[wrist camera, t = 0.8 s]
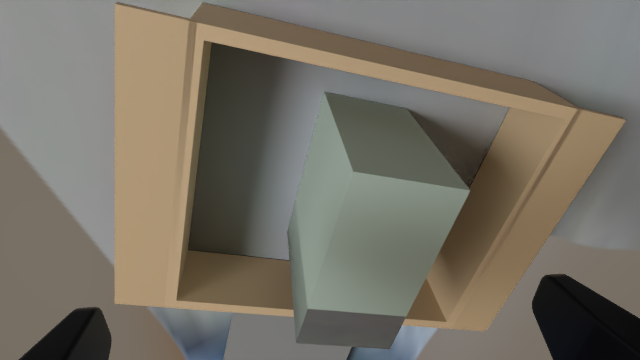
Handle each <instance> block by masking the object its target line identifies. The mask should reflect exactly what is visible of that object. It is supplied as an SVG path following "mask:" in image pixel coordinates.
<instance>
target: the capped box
mask: <svg viewBox="0 0 640 360" xmlns="http://www.w3.org/2000/svg"><path fill="white" fill-rule="evenodd" d="M469 192H470V189H469V188H468V187H467V186H466V184H465V183H464V182H463V180H462V179H461V178H460V177H459V175H458V174H457V173H456V171H455V170H454V169H453V168H452V166H451V165H450V164H449V162H448V161H447V160H446V159H445V157H444V156H443V155H442V153H441V152H440V151H439V150H438V148H437V147H436V146H435V144H434V143H433V142H432V141H431V139H430V138H429V137H428V135H427V134H426V133H425V132H424V130H423V129H422V128H421V126H420V125H419V124H418V123H417V121H416V120H415V119H414V117H413V116H412V115H411V114H410V112H409V111H408V110H407V109H406V108H401V107H396V106H391V105H386V104H381V103H377V102H372V101H367V100H362V99H357V98H352V97H347V96H342V95H337V94H333V93H328V92H324V95H323V98H322V102H321V106H320V110H319V114H318V117H317V121H316V125H315V129H314V133H313V136H312V140H311V144H310V148H309V152H308V155H307V159H306V163H305V167H304V171H303V174H302V178H301V182H300V186H299V190H298V193H297V197H296V201H295V205H294V209H293V212H292V216H291V220H290V224H289V228H288V232H287V233H288V246H289V259H290V271H291V284H292V297H293V310H294V323H295V336H296V343H298V344H314V345H331V346H347V347H363V348H380V349H390V348H391V346H392V344H393V342H394V340H395V338H396V336H397V334H398V332H399V330H400V328H401V326H402V324H403V322H404V320H405V318H406V316H407V314H408V312H409V310H410V308H411V306H412V304H413V302H414V300H415V298H416V297H417V295H418V293H419V291H420V289H421V287H422V285H423V283H424V281H425V279H426V277H427V275H428V273H429V271H430V269H431V267H432V265H433V263H434V261H435V259H436V257H437V255H438V253H439V251H440V249H441V247H442V245H443V243H444V242H445V240H446V238H447V236H448V234H449V232H450V230H451V228H452V226H453V224H454V222H455V220H456V218H457V216H458V214H459V212H460V210H461V208H462V206H463V204H464V202H465V200H466V198H467V196H468V194H469Z"/></svg>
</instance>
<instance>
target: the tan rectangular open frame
mask: <svg viewBox="0 0 640 360" xmlns="http://www.w3.org/2000/svg"><path fill="white" fill-rule="evenodd" d="M212 42H214V43H218V44H223V45H228V46H232V47H237V48H241V49H246V50H250V51H255V52H260V53H264V54H269V55H273V56H278V57H282V58H287V59H292V60H296V61H301V62H305V63H310V64H314V65H319V66H324V67H328V68H333V69H337V70H342V71H346V72H351V73H356V74H360V75H365V76H369V77H374V78H378V79H383V80H388V81H392V82H397V83H401V84H406V85H410V86H415V87H420V88H424V89H429V90H433V91H438V92H442V93H447V94H452V95H456V96H461V97H465V98H470V99H474V100H479V101H484V102H488V103H493V104H497V105H502V106H506V107H510V109H509V111H508V113H507V115H506V117H505V119H504V121H503V123H502V125H501V127H500V129H499V131H498V133H497V135H496V137H495V139H494V141H493V143H492V145H491V147H490V149H489V150H488V152H487V154H486V156H485V158H484V160H483V162H482V164H481V166H480V168H479V170H478V172H477V174H476V176H475V178H474V180H473V182H472V184H471V186H470V188H469V189H470V192H469V194H468V196H467V198H466V200H465V202H464V204H463V206H462V208H461V210H460V212H459V214H458V216H457V218H456V220H455V222H454V224H453V226H452V228H451V230H450V232H449V234H448V236H447V238H446V240H445V242H444V243H443V245H442V247H441V249H440V251H439V253H438V255H437V257H436V259H435V261H434V263H433V265H432V267H431V269H430V271H429V273H428V275H427V277H426V279H425V281H424V283H423V285H422V287H421V289H420V291H419V293H418V295H417V297H416V298H415V300H414V302H413V304H412V306H411V308H410V310H409V312H408V314H407V316H406V318H405V320H404V322H403V324H402V325H408V326H421V327H434V328H447V329H461V330H474V331H486V330H487V328H488V327H489V326H490V324H491V322H492V321H493V319H494V318H495V317H496V315H497V314H498V312H499V310H500V309H501V307H502V306H503V304H504V303H505V302H506V300H507V298H508V297H509V295H510V294H511V292H512V291H513V290H514V288H515V287H516V285H517V283H518V282H519V281H520V279H521V277H522V276H523V274H524V273H525V271H526V270H527V268H528V267H529V265H530V264H531V262H532V261H533V259H534V258H535V256H536V255H537V253H538V252H539V250H540V249H541V247H542V246H543V244H544V243H545V241H546V240H547V238H548V237H549V235H550V234H551V232H552V231H553V229H554V228H555V226H556V225H557V223H558V222H559V220H560V219H561V217H562V216H563V214H564V213H565V211H566V210H567V208H568V207H569V205H570V204H571V202H572V201H573V199H574V198H575V196H576V195H577V193H578V192H579V190H580V189H581V187H582V186H583V184H584V183H585V181H586V180H587V178H588V177H589V175H590V174H591V172H592V171H593V169H594V168H595V166H596V165H597V163H598V162H599V160H600V159H601V157H602V156H603V154H604V153H605V151H606V150H607V148H608V147H609V145H610V144H611V142H612V141H613V139H614V138H615V136H616V135H617V133H618V132H619V130H620V129H621V127H622V126H623V124H624V123H625V121H626V120H625V119H623V118H622V117H618V116H614V115H609V114H605V113H601V112H596V111H592V110H587V109H583V108H579V107H577V106H575V105H573V104H571V103H570V102H568V101H566V100H565V99H563V98H561V97H559V96H558V95H556V94H554V93H553V92H551V91H549V90H547V89H546V88H544V87H542V86H541V85H539V84H537V83H535V82H534V81H529V80H525V79H521V78H517V77H513V76H508V75H504V74H500V73H496V72H492V71H488V70H483V69H479V68H475V67H471V66H467V65H462V64H458V63H454V62H450V61H446V60H441V59H437V58H433V57H429V56H425V55H420V54H416V53H412V52H408V51H404V50H400V49H395V48H391V47H387V46H383V45H379V44H374V43H370V42H366V41H362V40H358V39H353V38H349V37H345V36H341V35H337V34H332V33H328V32H324V31H320V30H316V29H312V28H307V27H303V26H299V25H295V24H291V23H286V22H282V21H278V20H274V19H270V18H265V17H261V16H257V15H253V14H249V13H245V12H240V11H236V10H232V9H228V8H224V7H219V6H215V5H211V4H207V3H202V4H201V6H200V7H199V8H198V9H197V11H196V12H195V13H194V15H193V16H192V17H191V19H189V18H185V17H181V16H176V15H172V14H167V13H163V12H159V11H154V10H150V9H146V8H141V7H137V6H132V5H128V4H124V3H119V2H117V3H115V304H129V305H142V306H155V307H168V308H182V309H195V310H208V311H222V312H235V313H248V314H261V315H275V316H288V317H294V310H293V297H292V284H291V271H290V261H286V260H276V259H267V258H258V257H248V256H239V255H229V254H220V253H210V252H201V251H192V250H188V246H189V237H190V228H191V220H192V211H193V202H194V194H195V185H196V176H197V168H198V159H199V150H200V141H201V133H202V124H203V115H204V107H205V98H206V89H207V80H208V72H209V63H210V54H211V46H212Z"/></svg>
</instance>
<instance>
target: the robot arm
mask: <svg viewBox="0 0 640 360" xmlns="http://www.w3.org/2000/svg"><path fill="white" fill-rule="evenodd" d="M532 309H533V313H534V315H535V318H536V320H537V323H538V325H539V327H540V330H541V332H542V334H543V337H544V339H545V342H546V344H547V346H548V349H549V351H550V353H551V356H552V358H553V360H640V318H638V317H636V316H635V315H633V314H631V313H630V312H628V311H626V310H625V309H623V308H621V307H620V306H618V305H616V304H615V303H613V302H611V301H609V300H608V299H606V298H604V297H603V296H601V295H599V294H597V293H596V292H594V291H593V290H591V289H589V288H588V287H586V286H584V285H583V284H581V283H579V282H577V281H576V280H574V279H572V278H571V277H569V276H567V275H565V274H551V275H545V276H544V277H543V278H542V279H541V281H540V284H539V286H538V288H537V291H536V293H535V296H534V298H533V301H532ZM110 348H111V334H110V331H109V328H108V326H107V323H106V320H105V318H104V315H103V313H102V311H101V309H100V308H98V307H87V308H78V309H75V310H74V311H72V312H71V313H70V314H69V315H68V316H66V317H65V318H64V319H63V320H62V321H61V322H60V323H59V324H58V325H56V326H55V327H54V328H53V329H52V330H51V331H50V332H49V333H48V334H47V335H46V336H44V337H43V338H42V339H41V340H40V341H39V342H38V343H37V344H35V345H34V346H33V347H32V348H31V349H30V350H29V351H28V352H27V353H25V354H24V355H23V356H22V357H21V358H20V359H19V360H108V359H109V354H110Z"/></svg>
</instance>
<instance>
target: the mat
mask: <svg viewBox="0 0 640 360" xmlns="http://www.w3.org/2000/svg"><path fill="white" fill-rule="evenodd" d="M351 348H352V347H347V346H331V345H314V344H298V343H296V336H295V323H294V317H288V316H275V315H261V314H248V313H235V312H233V314H232V319H231V324H230V329H229V334H228V338H227V343H226V348H225V353H224V358H223V360H346V359H347V357H348V354H349V352H350V350H351Z"/></svg>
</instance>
